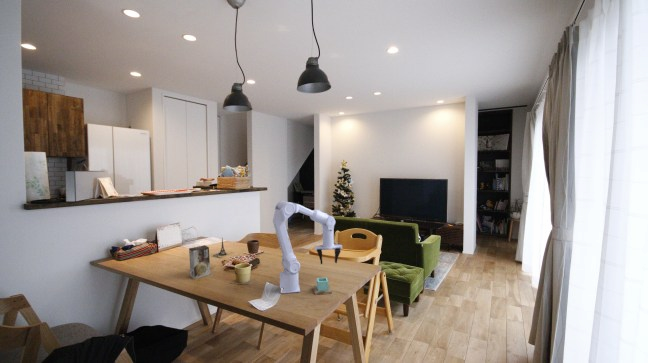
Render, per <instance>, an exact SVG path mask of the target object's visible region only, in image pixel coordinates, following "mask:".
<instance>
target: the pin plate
mask: <svg viewBox="0 0 648 363" xmlns="http://www.w3.org/2000/svg"><path fill="white" fill-rule="evenodd" d="M313 291H314V294H315V296H317V295H328V294H329V295H331V294H332V293H333V290H332V289H331V285H330V284H328V291H318V289H317V285H313Z"/></svg>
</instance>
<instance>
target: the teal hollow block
mask: <svg viewBox="0 0 648 363" xmlns="http://www.w3.org/2000/svg"><path fill="white" fill-rule="evenodd" d="M328 285H329V280H328V277H316V286H317V289H318V291H328Z"/></svg>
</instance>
